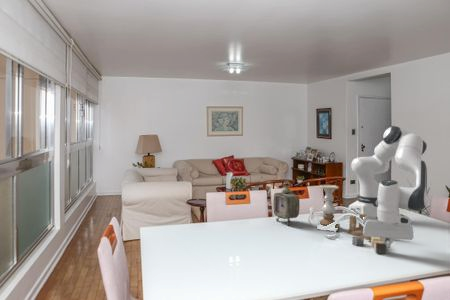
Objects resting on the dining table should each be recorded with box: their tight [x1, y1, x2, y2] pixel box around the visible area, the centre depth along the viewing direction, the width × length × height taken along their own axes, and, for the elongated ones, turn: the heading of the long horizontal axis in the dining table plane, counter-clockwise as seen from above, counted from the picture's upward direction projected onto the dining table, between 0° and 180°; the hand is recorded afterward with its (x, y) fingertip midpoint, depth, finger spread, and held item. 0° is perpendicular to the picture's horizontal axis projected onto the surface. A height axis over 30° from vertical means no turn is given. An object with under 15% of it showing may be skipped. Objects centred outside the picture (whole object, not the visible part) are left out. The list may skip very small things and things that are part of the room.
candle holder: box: [319, 184, 341, 229], centre depth 183 cm, size 11×11×24 cm
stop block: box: [351, 236, 365, 247], centre depth 157 cm, size 2×5×4 cm, turn 121°
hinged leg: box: [369, 237, 387, 254], centre depth 152 cm, size 15×4×4 cm, turn 167°
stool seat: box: [347, 214, 390, 241], centre depth 170 cm, size 16×11×9 cm
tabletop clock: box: [273, 180, 300, 226], centre depth 193 cm, size 14×9×25 cm, turn 25°
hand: (387, 247), depth 147 cm, fingers closed
